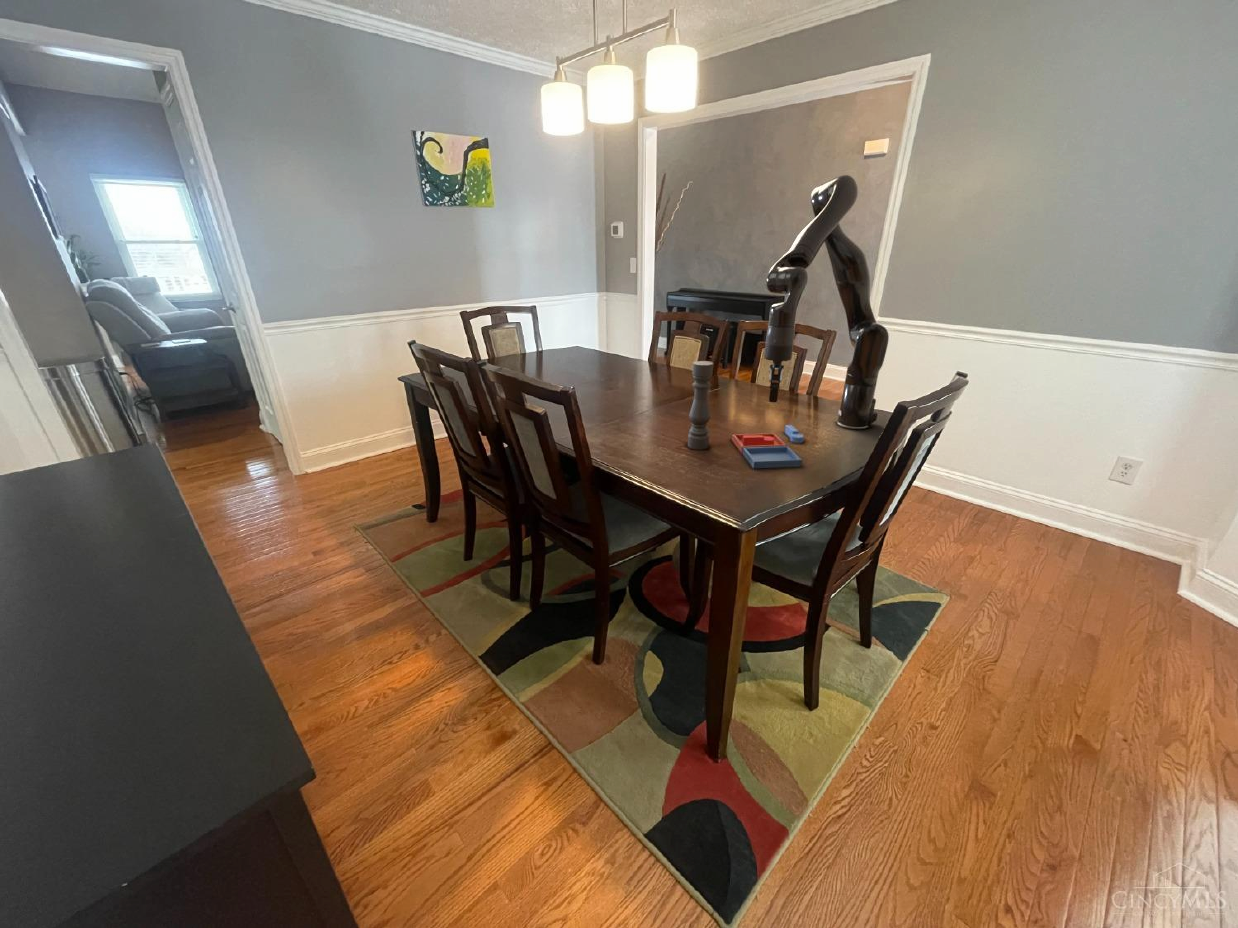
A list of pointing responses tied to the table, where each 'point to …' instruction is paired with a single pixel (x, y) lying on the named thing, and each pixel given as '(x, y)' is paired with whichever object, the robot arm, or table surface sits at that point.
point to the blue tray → (771, 457)
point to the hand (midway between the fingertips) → (773, 398)
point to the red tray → (738, 442)
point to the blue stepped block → (794, 434)
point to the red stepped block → (757, 440)
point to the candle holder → (700, 405)
